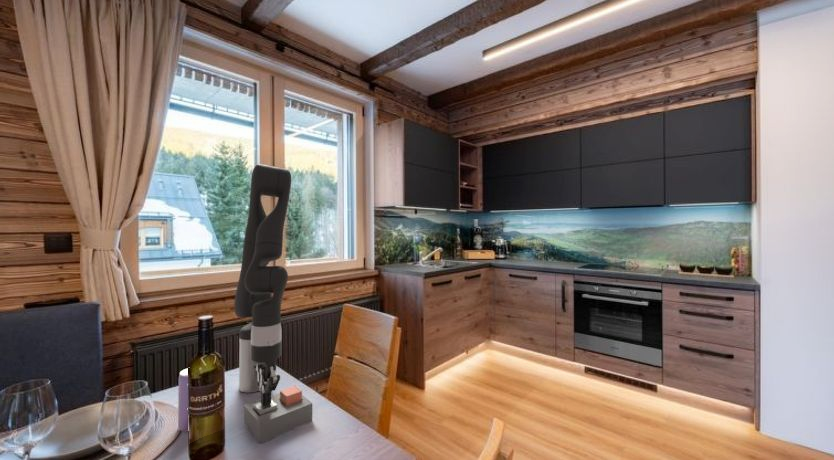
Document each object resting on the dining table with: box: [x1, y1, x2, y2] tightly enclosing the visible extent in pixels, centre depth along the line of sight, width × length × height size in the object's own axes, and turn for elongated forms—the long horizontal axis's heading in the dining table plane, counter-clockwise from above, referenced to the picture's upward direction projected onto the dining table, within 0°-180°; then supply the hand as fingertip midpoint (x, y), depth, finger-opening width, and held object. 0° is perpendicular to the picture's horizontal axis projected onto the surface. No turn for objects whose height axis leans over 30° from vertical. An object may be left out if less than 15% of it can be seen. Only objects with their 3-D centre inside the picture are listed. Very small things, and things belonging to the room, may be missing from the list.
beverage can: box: [177, 367, 189, 433], centre depth 89 cm, size 6×6×15 cm
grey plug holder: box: [243, 392, 313, 444], centre depth 91 cm, size 12×14×5 cm
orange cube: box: [279, 385, 303, 406], centre depth 93 cm, size 4×4×4 cm
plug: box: [254, 399, 277, 416], centre depth 88 cm, size 4×4×4 cm
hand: (266, 404), depth 88 cm, fingers closed
